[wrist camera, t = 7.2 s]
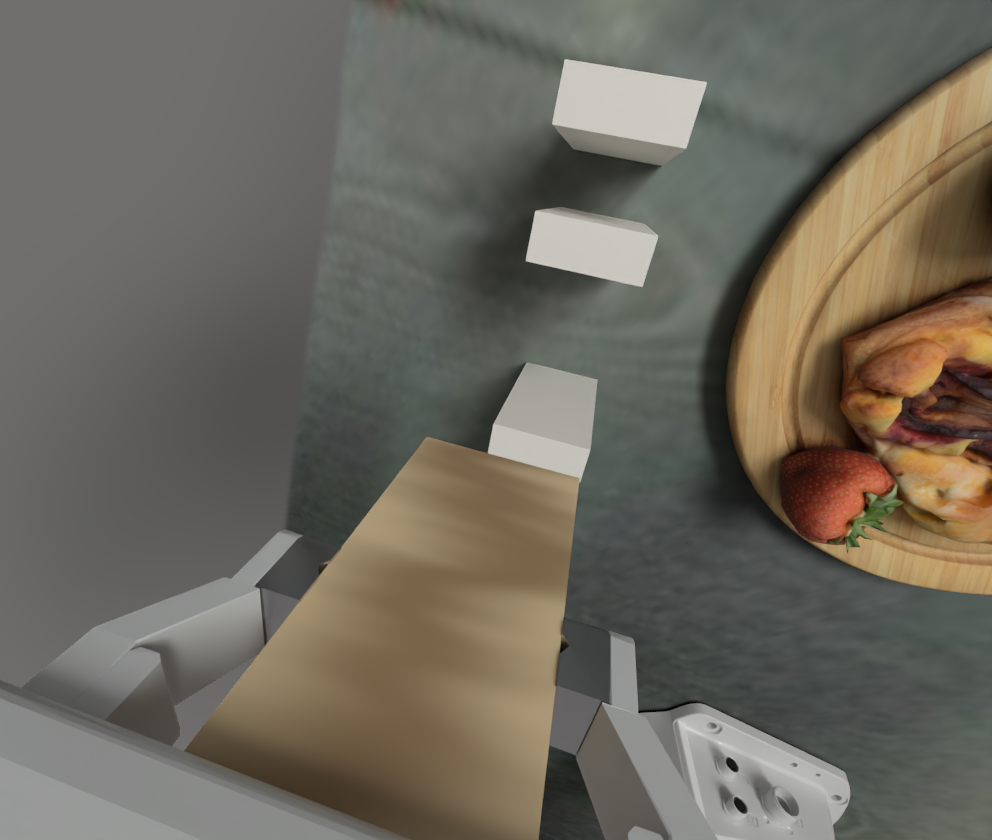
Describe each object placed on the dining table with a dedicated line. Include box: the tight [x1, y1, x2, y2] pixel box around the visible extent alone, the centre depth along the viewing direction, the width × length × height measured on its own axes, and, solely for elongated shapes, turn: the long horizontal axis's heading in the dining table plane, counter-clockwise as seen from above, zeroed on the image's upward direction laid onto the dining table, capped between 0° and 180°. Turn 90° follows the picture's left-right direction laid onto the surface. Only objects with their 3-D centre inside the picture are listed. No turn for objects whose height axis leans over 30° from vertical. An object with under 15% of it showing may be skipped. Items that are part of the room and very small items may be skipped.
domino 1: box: [184, 437, 579, 840], centre depth 11 cm, size 5×2×10 cm, turn 80°
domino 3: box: [526, 207, 658, 287], centre depth 23 cm, size 5×2×10 cm, turn 79°
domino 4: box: [488, 362, 597, 482], centre depth 28 cm, size 5×2×10 cm, turn 80°
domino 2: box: [552, 59, 707, 166], centre depth 21 cm, size 5×2×10 cm, turn 79°
